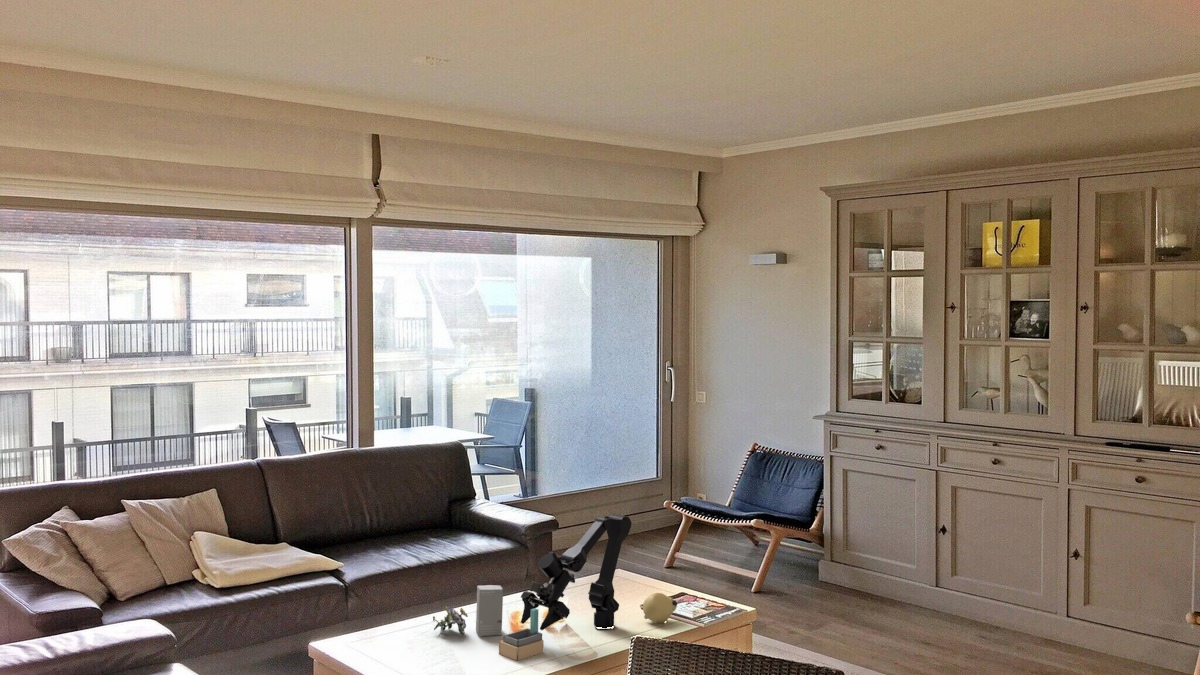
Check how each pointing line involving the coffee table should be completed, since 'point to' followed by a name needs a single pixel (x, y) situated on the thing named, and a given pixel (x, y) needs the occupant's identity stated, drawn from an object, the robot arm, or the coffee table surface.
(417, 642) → the coffee table surface
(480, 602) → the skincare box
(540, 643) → the tan open box
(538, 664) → the coffee table surface
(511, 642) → the grey box with post
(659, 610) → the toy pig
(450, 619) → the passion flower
